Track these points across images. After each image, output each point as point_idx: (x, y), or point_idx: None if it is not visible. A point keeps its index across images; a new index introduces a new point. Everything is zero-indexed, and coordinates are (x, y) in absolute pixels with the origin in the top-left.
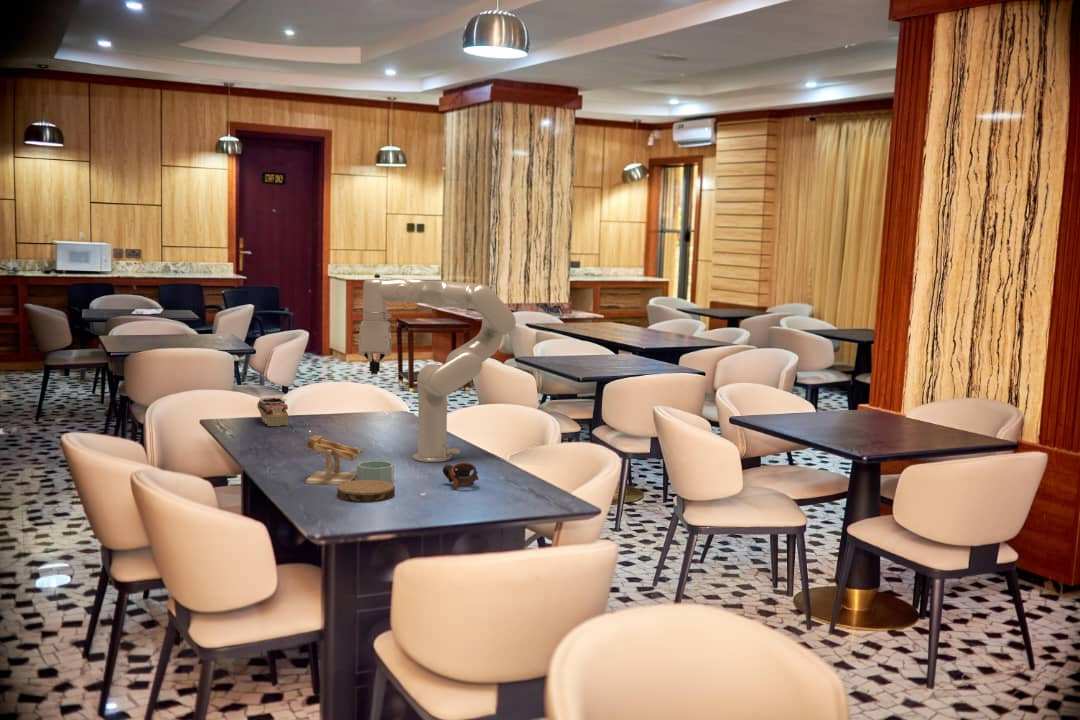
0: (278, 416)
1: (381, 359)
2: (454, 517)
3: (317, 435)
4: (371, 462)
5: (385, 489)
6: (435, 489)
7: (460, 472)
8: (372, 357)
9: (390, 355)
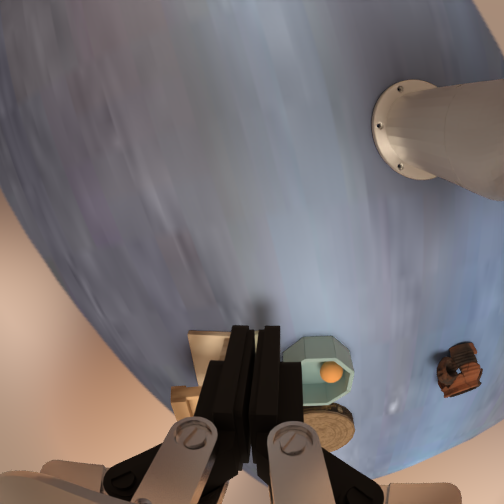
0: None
1: (328, 460)
2: (411, 457)
3: (177, 404)
4: (304, 361)
5: (342, 442)
6: (413, 385)
7: (462, 362)
8: (202, 466)
9: (440, 495)
